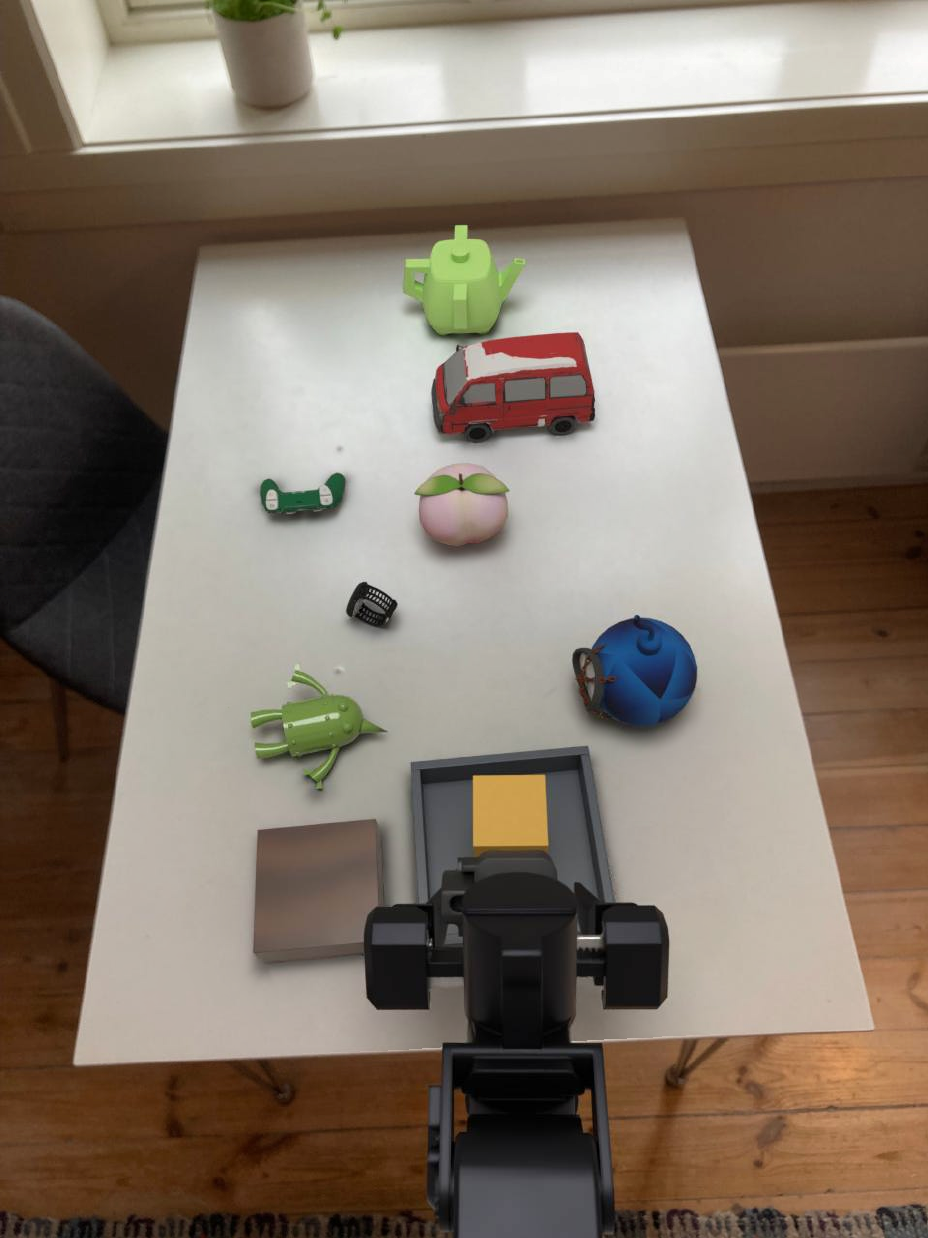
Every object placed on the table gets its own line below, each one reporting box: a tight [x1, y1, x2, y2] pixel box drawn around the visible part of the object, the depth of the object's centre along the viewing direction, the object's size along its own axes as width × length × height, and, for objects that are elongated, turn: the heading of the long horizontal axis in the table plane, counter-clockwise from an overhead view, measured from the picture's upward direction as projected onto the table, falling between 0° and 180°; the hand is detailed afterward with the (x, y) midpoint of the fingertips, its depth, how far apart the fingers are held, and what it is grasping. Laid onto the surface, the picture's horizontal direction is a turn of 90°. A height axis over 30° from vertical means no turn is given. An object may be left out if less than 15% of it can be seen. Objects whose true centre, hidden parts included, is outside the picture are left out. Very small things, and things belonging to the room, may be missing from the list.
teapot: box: [402, 224, 526, 336], centre depth 111 cm, size 12×12×10 cm
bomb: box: [571, 614, 698, 728], centre depth 80 cm, size 10×11×15 cm
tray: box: [410, 745, 615, 947], centre depth 77 cm, size 16×16×4 cm
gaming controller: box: [259, 472, 346, 515], centre depth 98 cm, size 9×4×6 cm
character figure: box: [250, 663, 389, 790], centre depth 83 cm, size 12×5×12 cm
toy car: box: [430, 331, 596, 444], centre depth 101 cm, size 9×18×10 cm, turn 90°
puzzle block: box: [473, 775, 548, 857], centre depth 74 cm, size 6×6×11 cm
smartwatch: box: [345, 581, 399, 628], centre depth 89 cm, size 4×5×5 cm
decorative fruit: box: [413, 462, 510, 547], centre depth 93 cm, size 9×8×10 cm
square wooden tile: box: [252, 818, 385, 964], centre depth 76 cm, size 10×10×4 cm
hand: (512, 888), depth 65 cm, fingers open, 9 cm apart
